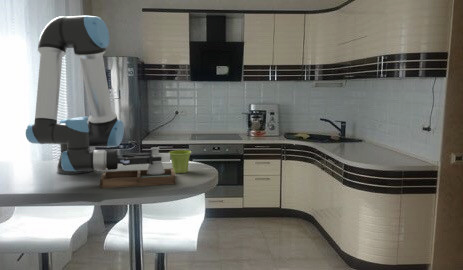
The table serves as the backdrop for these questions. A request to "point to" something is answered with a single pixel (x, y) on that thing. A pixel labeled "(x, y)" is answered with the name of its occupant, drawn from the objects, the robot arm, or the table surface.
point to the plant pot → (180, 160)
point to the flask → (155, 164)
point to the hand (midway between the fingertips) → (169, 157)
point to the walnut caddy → (136, 178)
